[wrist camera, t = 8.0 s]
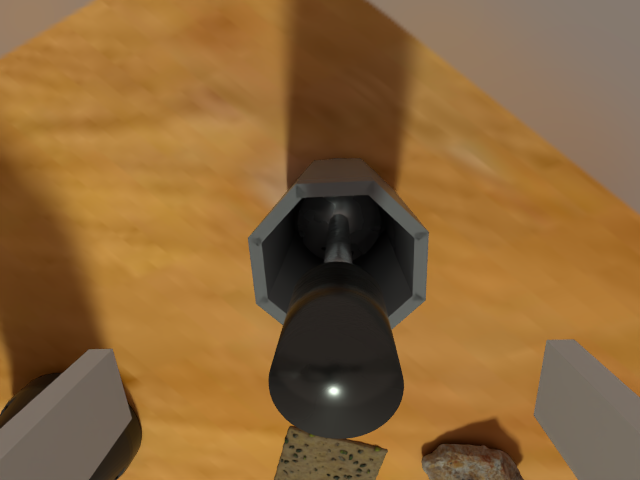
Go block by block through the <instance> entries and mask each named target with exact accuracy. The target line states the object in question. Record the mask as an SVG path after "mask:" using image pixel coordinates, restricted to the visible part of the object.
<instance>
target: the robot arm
mask: <svg viewBox="0 0 640 480" xmlns="http://www.w3.org/2000/svg"><path fill="white" fill-rule="evenodd" d="M534 416H535V418H536V419H537V421H538V422H539V424H540V425H541V427H542V428H543V429H544V431H545V432H546V434H547V435H548V437H549V438H550V440H551V441H552V442H553V444H554V445H555V447H556V448H557V450H558V451H559V453H560V454H561V456H562V457H563V458H564V460H565V461H566V463H567V464H568V466H569V467H570V469H571V470H572V471H573V473H574V474H575V476H576V477H577V479H578V480H640V397H638V396H637V395H636V394H635V393H634V392H633V391H632V390H631V389H629V388H628V387H627V386H626V385H625V384H624V383H623V382H621V381H620V380H619V379H618V378H617V377H616V376H615V375H614V374H612V373H611V372H610V371H609V370H608V369H607V368H606V367H605V366H603V365H602V364H601V363H600V362H599V361H598V360H597V359H596V358H594V357H593V356H592V355H591V354H590V353H589V352H588V351H586V350H585V349H584V348H583V347H582V346H581V345H580V344H579V343H577V342H576V341H575V340H547V341H546V347H545V353H544V359H543V365H542V370H541V376H540V382H539V388H538V394H537V399H536V405H535V411H534ZM140 444H141V428H140V425H139V422H138V419H137V417H136V415H135V413H134V412H133V410H132V409H131V407H130V406H129V405H128V403H127V399H126V395H125V392H124V388H123V385H122V381H121V378H120V374H119V370H118V367H117V363H116V360H115V356H114V352H113V349H89V350H88V351H87V352H85V353H84V354H83V355H82V356H81V357H80V358H79V359H78V360H77V361H75V362H74V363H73V364H72V365H71V366H70V367H69V368H68V369H67V370H65V371H64V372H63V373H54V374H48V375H44V376H41V377H39V378H36V379H35V380H33V381H31V382H30V383H29V384H28V385H26V386H25V387H24V388H23V389H21V390H20V391H19V392H18V393H17V394H15V395H14V396H13V397H12V398H11V399H10V400H9V401H8V403H7V404H6V405H5V407H4V409H3V410H2V412H1V414H0V480H117V479H118V478H119V477H120V476H121V475H122V474H123V473H124V472H125V471H126V469H127V468H128V466H129V465H130V463H131V462H132V460H133V459H134V457H135V455H136V454H137V452H138V450H139V448H140Z"/></svg>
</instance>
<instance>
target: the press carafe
mask: <svg viewBox="0 0 640 480" xmlns="http://www.w3.org/2000/svg"><path fill="white" fill-rule="evenodd" d="M353 195H369V196H370V197H371V198H372V199H373V200H374V201H375V202H376V204H377V206H378V208H379V211H380V216H381V228H380V233H379V236H378V238H377V240H376V242H375V244H374V245H373V246H372V248H371V249H370V250H369V251H368V252H366V253H365V254H364V255H362V256H361V257H359V258H357V259H354V260H352V264H355V265H357V266H359V267H361V268H363V269H365V270H366V271H367V272H369V273H370V274H371V275H372V276H373V277H374V278H375V280H376V281H377V282H378V284H379V286H380V288H381V291H382V294H383V298H384V302H385V306H386V310H387V314H388V318H389V322H390V326H391V330H392V329H393V328H394V327H395V326H396V325H397V324H399V323H400V322H401V321H402V320H403V319H404V318H406V317H407V316H408V315H409V314H410V313H411V312H413V311H414V310H415V309H416V308H417V307H418V306H419V305H421V304H422V303H423V302H424V301H425V300H426V279H427V257H428V236H429V232H428V231H427V229H426V228H425V227H424V226H423V225H422V223H421V222H420V221H419V220H418V219H417V217H416V216H415V215H414V214H413V212H412V211H411V210H410V209H409V208H408V206H407V205H406V204H405V203H404V202H403V200H402V199H401V198H400V197H399V195H398V194H397V193H396V192H395V191H394V189H393V188H391V187H390V186H389V185H388V184H387V183H386V182H385V181H384V180H383V179H382V178H381V177H380V176H379V175H378V174H377V173H376V172H375V171H374V170H373V169H371V168H370V167H369V166H368V165H367V164H366V163H365V162H364V161H363V160H362V159H361V158H351V159H346V158H334V159H328V160H314V161H313V162H312V163H311V164H310V166H309V167H308V168H307V169H306V170H305V171H304V172H303V174H302V175H301V176H300V177H299V178H298V179H297V180H296V182H295V183H294V184H293V185H292V186H291V187H290V188H289V190H288V191H287V192H286V193H285V194H284V195H283V197H282V198H281V199H280V200H279V201H278V203H277V204H276V205H275V206H274V207H273V209H272V210H271V211H270V212H269V213H268V215H267V216H266V217H265V218H264V219H263V221H262V222H261V223H260V224H259V225H258V227H257V228H256V229H255V230H254V231H253V233H252V234H251V235H250V236H249V237H248V243H249V251H250V259H251V267H252V275H253V283H254V291H255V299H256V304H257V305H258V306H260V307H261V308H262V309H263V310H265V311H266V312H267V313H268V314H270V315H271V316H272V317H273V318H275V319H276V320H277V321H278V322H280V323H281V324H282V325H283V324H284V321H285V317H286V314H287V310H288V307H289V303H290V300H291V297H292V293H293V290H294V287H295V285H296V283H297V282H298V280H299V279H300V278H301V276H302V275H303V274H304V273H306V272H307V271H308V270H310V269H311V268H313V267H315V266H317V265H319V264H322V263H324V259H322V258H320V257H318V256H316V255H315V254H313V253H312V252H311V251H310V250H309V249H308V248H307V247H306V246H305V244H304V243H303V241H302V239H301V237H300V234H299V231H298V214H299V210H300V208H301V205H302V203H303V201H304V200H305V198H306V197H329V196H353Z"/></svg>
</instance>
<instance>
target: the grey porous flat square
mask: <svg viewBox="0 0 640 480" xmlns="http://www.w3.org/2000/svg"><path fill="white" fill-rule="evenodd" d="M387 452H388V450H387V449H383V448H380V447H378V446H371V445H368V444H364V443H360V442H354V441H350V440H347V439H332V438H324V437H319V436H316V435H312V434H310V433H307V432H305V431H303V430H301V429H299V428H297V427H293V426H290V427H289V429H288V432H287V436H286V438H285V443H284V445H283V451H282V454H281V457H280V460H279V464H278V466H277V472H276V475H275V478H274V480H375V479H376V477H377V475H378V472H379V469H380V467H381V465H382V463H383V460H384V458H385V455H386V453H387Z"/></svg>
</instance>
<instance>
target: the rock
mask: <svg viewBox="0 0 640 480" xmlns="http://www.w3.org/2000/svg"><path fill="white" fill-rule="evenodd" d="M422 468H423V470H424V471H425V472H426V473H427V474H428V477H429V479H430V480H524V479H523V478H522V476H521V475H520V471H519V470H518V468H517V466H516V465H515V463H514V462H513V461H512V459H511V457H510V456H509V455H508V454H507V453H505V452H503V451H501V450H495V449H489V448H487V447H486V446H484V445H482V446H474V445H469V444H468V445H459V444H441V445H439V446H438V448H437V449H436V450H435V451H434V452H433V453H432V454H428V455H426V456H424V457H423V458H422Z"/></svg>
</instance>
